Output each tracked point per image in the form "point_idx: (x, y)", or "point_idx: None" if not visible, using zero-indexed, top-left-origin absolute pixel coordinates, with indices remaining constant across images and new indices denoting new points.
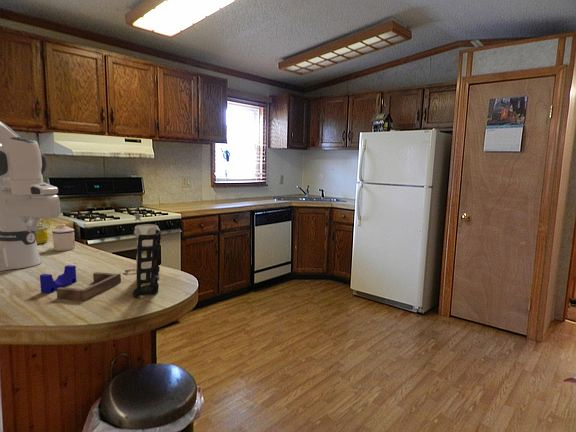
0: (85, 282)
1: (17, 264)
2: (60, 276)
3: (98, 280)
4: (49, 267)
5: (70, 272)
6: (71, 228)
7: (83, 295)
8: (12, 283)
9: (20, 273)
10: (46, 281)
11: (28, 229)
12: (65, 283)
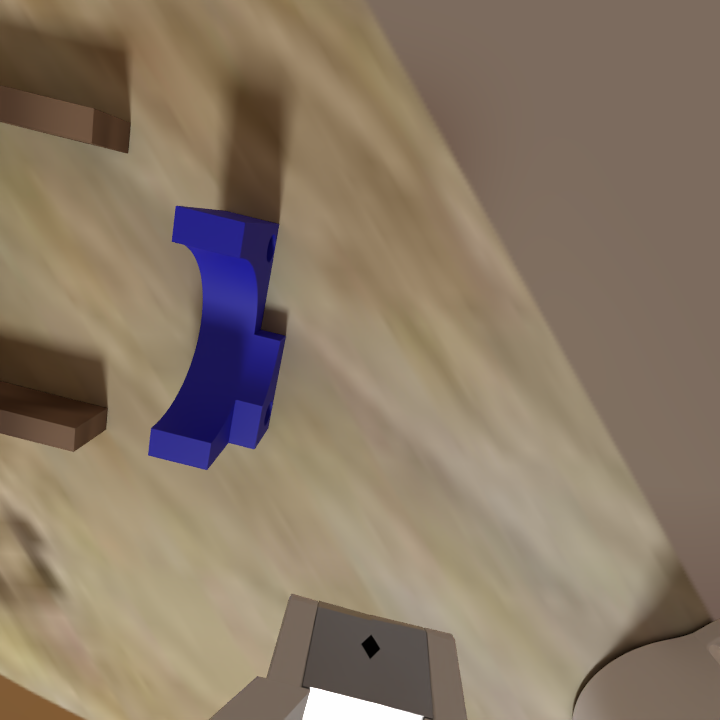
0: (144, 398)
1: (666, 669)
2: (249, 397)
3: (70, 403)
4: (487, 659)
5: (180, 408)
6: None
7: None
8: (540, 395)
9: (593, 568)
10: (210, 211)
11: (388, 627)
12: (200, 335)
